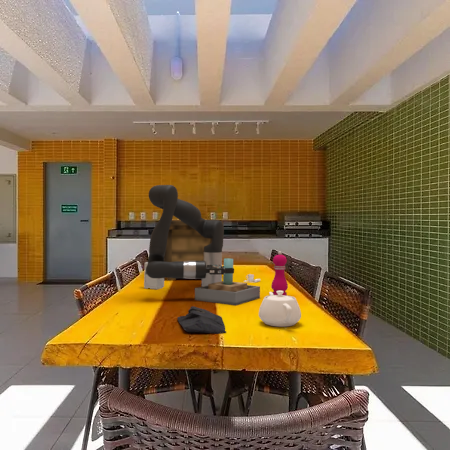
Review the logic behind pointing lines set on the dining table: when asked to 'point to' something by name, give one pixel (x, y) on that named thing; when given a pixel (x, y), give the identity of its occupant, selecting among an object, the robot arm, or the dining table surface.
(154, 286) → the white marbled block
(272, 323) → the teapot
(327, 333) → the dining table surface
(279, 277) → the pepper mill
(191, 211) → the robot arm
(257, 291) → the tray
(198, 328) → the dark gray crumpled cloth
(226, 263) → the peg
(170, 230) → the crate
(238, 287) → the bore block
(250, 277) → the teacup and saucer
